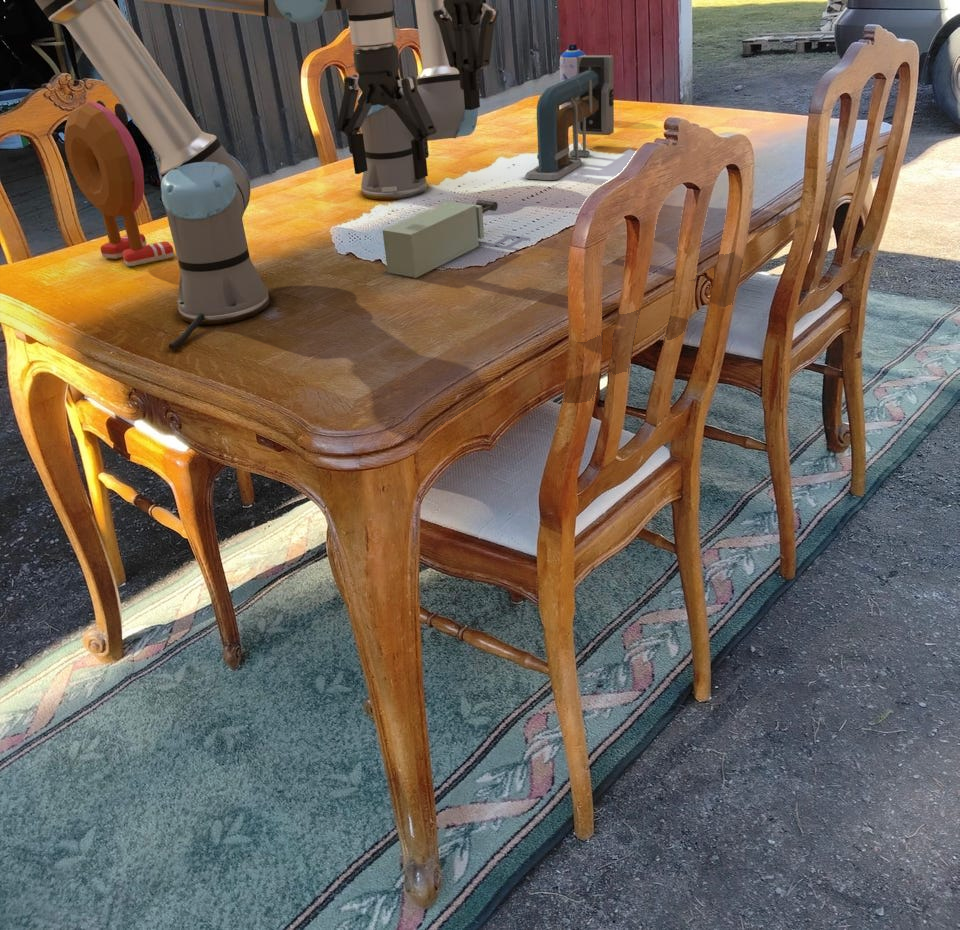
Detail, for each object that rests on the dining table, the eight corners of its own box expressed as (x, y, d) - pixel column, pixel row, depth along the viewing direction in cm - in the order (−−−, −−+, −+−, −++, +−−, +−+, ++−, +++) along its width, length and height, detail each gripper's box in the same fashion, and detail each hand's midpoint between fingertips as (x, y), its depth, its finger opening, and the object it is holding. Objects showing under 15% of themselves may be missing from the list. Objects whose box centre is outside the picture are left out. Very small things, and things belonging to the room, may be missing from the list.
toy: (187, 258, 192) (149, 99, 177) (141, 273, 186) (98, 110, 171) (132, 241, 205) (93, 92, 190) (88, 254, 199) (43, 101, 184)
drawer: (479, 225, 194) (477, 194, 191) (502, 228, 191) (500, 197, 188) (402, 262, 178) (398, 229, 175) (426, 266, 175) (422, 232, 172)
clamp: (556, 180, 222) (553, 82, 211) (522, 178, 225) (517, 81, 215) (613, 144, 247) (613, 55, 237) (582, 143, 251) (580, 55, 240)
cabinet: (451, 241, 189) (447, 201, 185) (479, 246, 185) (475, 205, 181) (387, 272, 176) (382, 229, 172) (416, 278, 172) (411, 234, 168)
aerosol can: (559, 122, 275) (557, 47, 265) (562, 117, 282) (559, 42, 272) (587, 121, 274) (585, 45, 263) (589, 115, 280) (587, 41, 270)
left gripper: (448, 42, 157) (460, 174, 168) (333, 42, 170) (350, 164, 180) (421, 50, 152) (435, 185, 163) (304, 49, 164) (324, 175, 175)
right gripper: (505, -38, 166) (512, 106, 178) (445, -36, 173) (456, 102, 185) (479, -34, 161) (489, 114, 173) (419, -32, 168) (432, 110, 180)
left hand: (390, 175), depth 172 cm, fingers open, 13 cm apart
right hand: (472, 108), depth 179 cm, fingers closed
